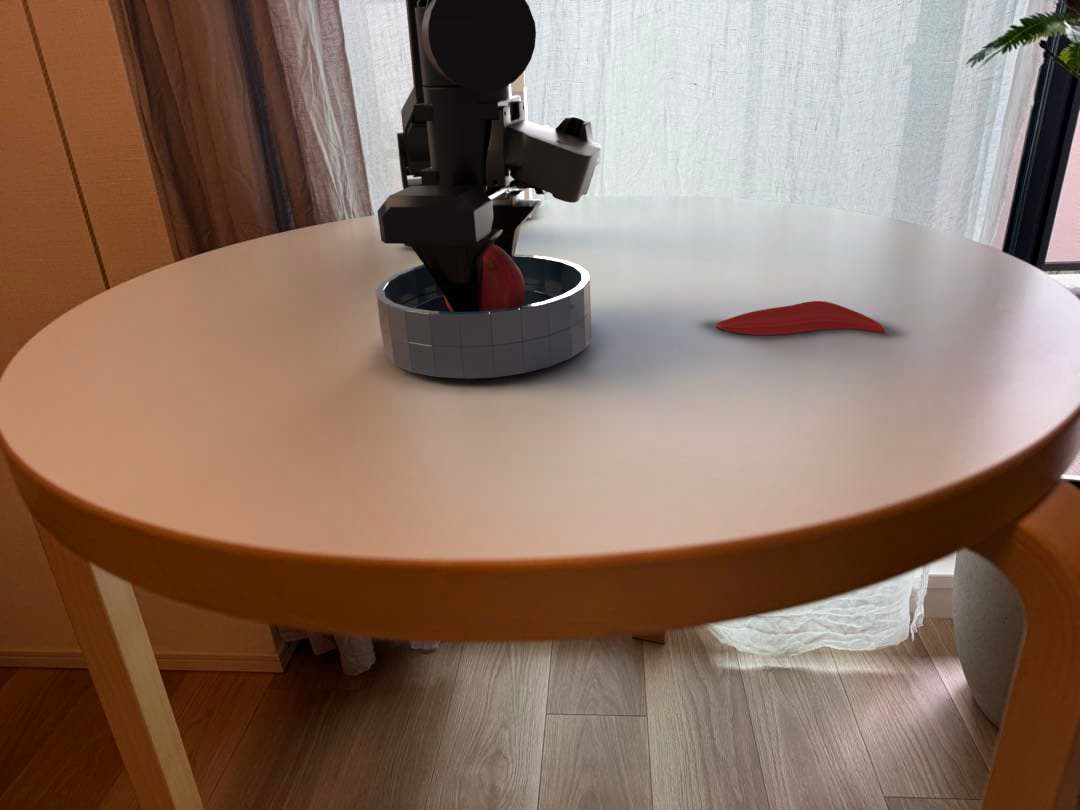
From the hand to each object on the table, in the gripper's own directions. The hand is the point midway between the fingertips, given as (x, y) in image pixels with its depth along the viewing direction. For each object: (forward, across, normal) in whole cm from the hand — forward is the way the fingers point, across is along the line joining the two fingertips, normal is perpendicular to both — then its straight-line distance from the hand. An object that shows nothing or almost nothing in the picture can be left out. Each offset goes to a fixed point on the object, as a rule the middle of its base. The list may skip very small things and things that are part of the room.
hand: (485, 312), depth 60 cm
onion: (+2, 0, 0) cm, 2 cm away
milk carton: (+3, +47, +14) cm, 49 cm away
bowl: (+3, 0, 0) cm, 3 cm away
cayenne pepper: (+3, +7, -22) cm, 23 cm away
